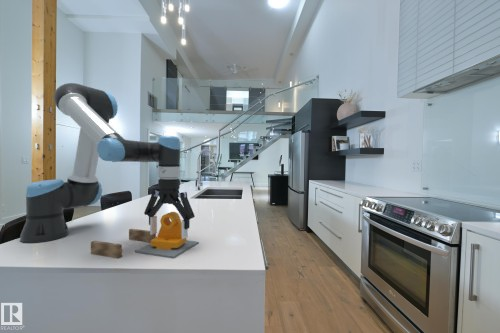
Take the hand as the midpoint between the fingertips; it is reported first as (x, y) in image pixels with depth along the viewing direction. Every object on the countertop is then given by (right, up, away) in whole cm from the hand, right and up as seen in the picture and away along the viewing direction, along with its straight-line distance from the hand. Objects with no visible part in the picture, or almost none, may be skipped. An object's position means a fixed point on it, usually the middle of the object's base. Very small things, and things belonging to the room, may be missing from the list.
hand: (168, 235), depth 89 cm
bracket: (0, -4, 0) cm, 4 cm away
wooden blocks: (-16, -4, 0) cm, 16 cm away
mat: (0, -4, 0) cm, 4 cm away
